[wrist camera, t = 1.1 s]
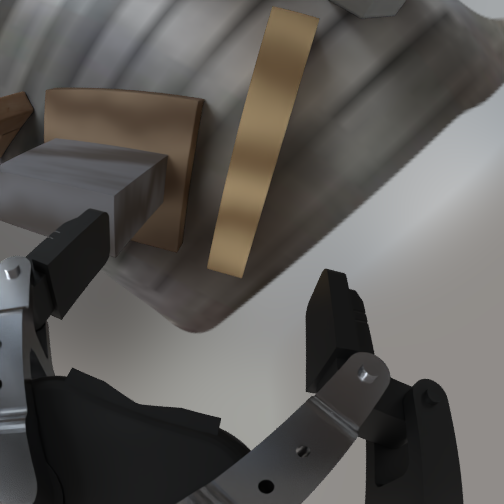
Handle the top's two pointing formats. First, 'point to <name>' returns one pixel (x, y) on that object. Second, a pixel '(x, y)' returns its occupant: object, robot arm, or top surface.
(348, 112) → the top surface
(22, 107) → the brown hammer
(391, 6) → the coffee maker
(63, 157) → the ridge stand
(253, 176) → the oak bar
